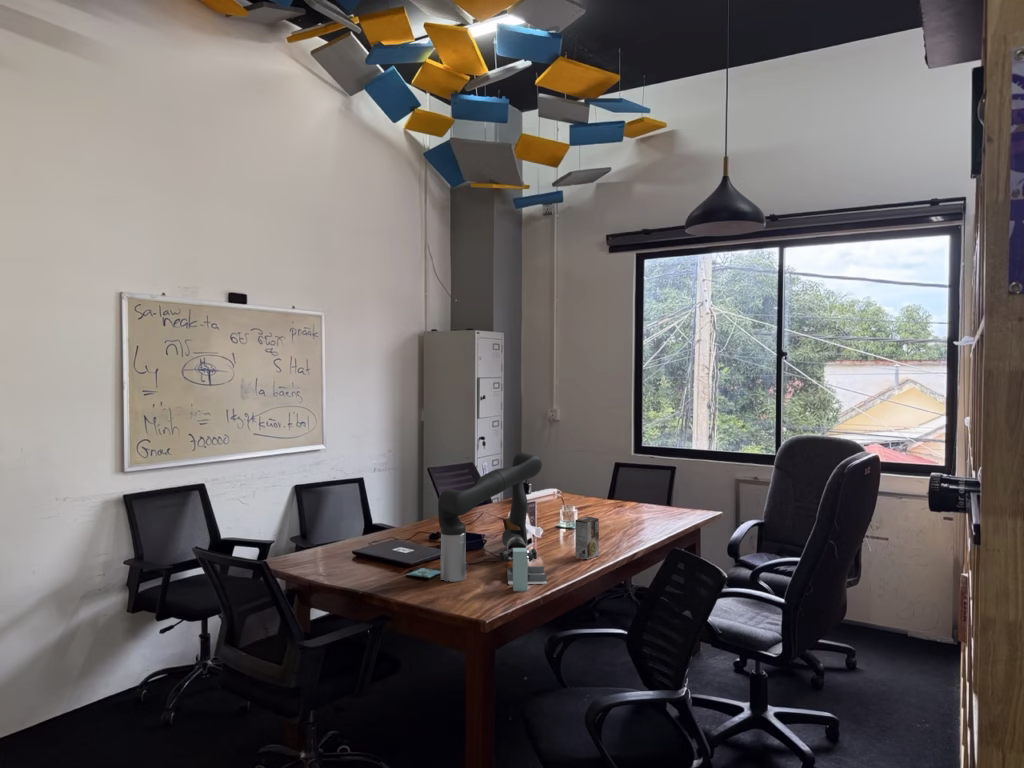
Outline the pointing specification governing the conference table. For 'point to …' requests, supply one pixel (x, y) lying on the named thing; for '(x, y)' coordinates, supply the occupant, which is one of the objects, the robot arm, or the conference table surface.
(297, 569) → the conference table surface
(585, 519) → the coffee box
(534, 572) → the keyhole guide
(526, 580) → the teal post
